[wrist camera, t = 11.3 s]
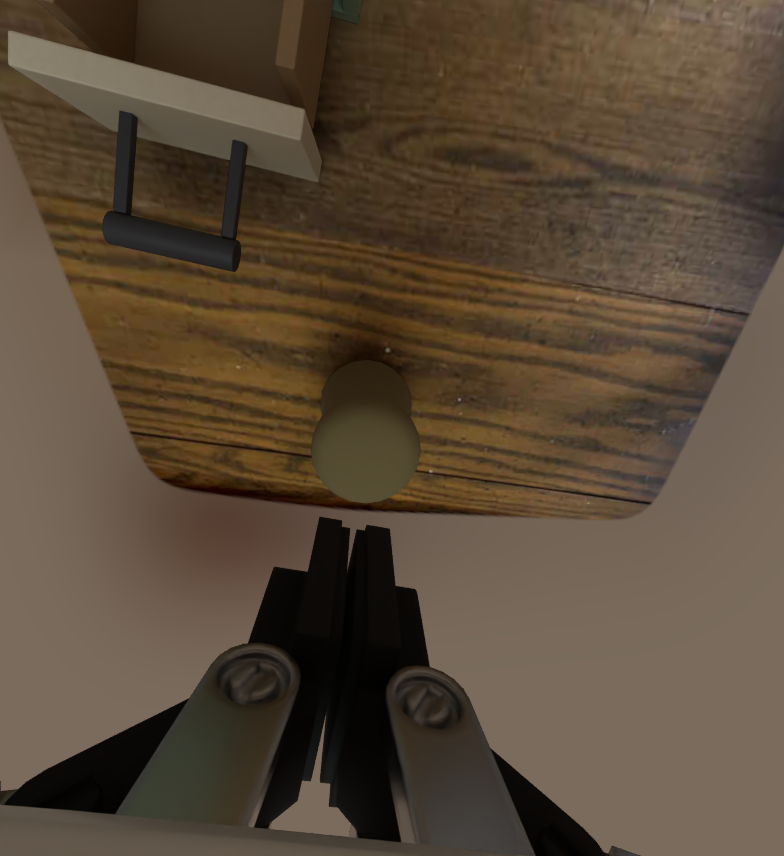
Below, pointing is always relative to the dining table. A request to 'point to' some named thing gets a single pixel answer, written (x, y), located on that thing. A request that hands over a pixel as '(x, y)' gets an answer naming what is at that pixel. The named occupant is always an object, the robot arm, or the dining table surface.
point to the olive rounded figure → (365, 433)
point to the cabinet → (347, 10)
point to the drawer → (190, 95)
